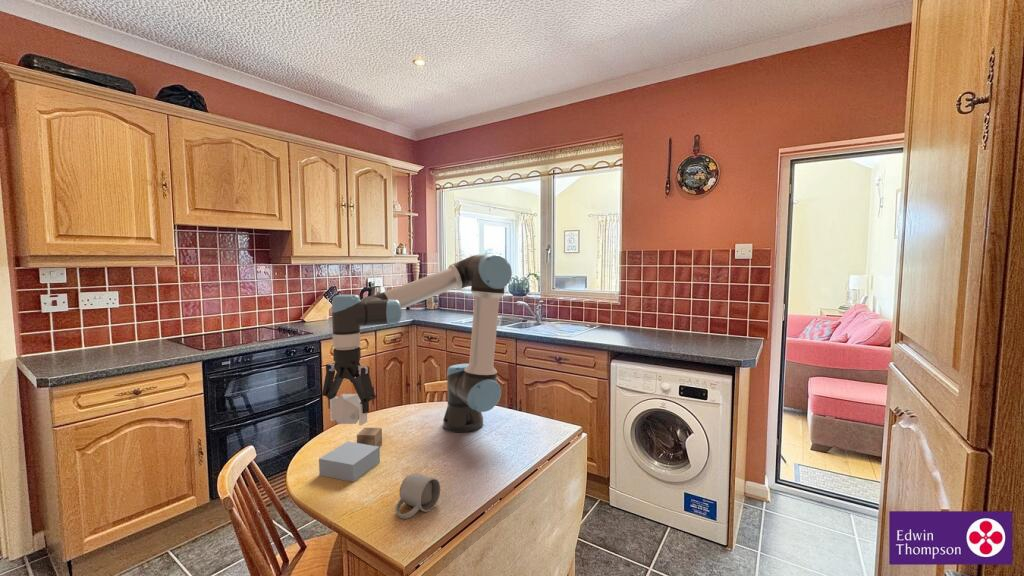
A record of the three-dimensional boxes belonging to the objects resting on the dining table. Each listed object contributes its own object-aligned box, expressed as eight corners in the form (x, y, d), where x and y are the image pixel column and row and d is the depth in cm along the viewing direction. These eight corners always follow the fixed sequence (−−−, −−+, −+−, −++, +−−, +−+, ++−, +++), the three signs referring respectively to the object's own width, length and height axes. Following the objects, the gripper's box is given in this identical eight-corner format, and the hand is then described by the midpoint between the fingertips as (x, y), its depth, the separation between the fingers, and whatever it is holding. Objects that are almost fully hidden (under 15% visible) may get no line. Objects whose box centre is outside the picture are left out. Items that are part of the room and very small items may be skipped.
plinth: (379, 462, 127) (379, 446, 127) (353, 482, 116) (353, 464, 116) (347, 456, 131) (347, 441, 131) (319, 475, 120) (318, 458, 120)
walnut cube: (382, 445, 140) (381, 427, 139) (375, 453, 134) (374, 435, 133) (364, 444, 140) (364, 427, 140) (357, 452, 134) (356, 434, 134)
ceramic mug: (417, 493, 110) (416, 465, 110) (441, 502, 106) (440, 473, 106) (387, 515, 101) (386, 485, 101) (412, 525, 97) (411, 494, 97)
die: (344, 432, 116) (366, 401, 119) (319, 415, 118) (341, 384, 120) (355, 431, 125) (375, 402, 127) (331, 415, 126) (352, 386, 129)
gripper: (386, 347, 121) (388, 421, 123) (325, 342, 128) (327, 412, 130) (370, 352, 114) (372, 431, 116) (306, 347, 121) (309, 421, 123)
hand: (348, 421), depth 123 cm, fingers closed on die, 10 cm apart
